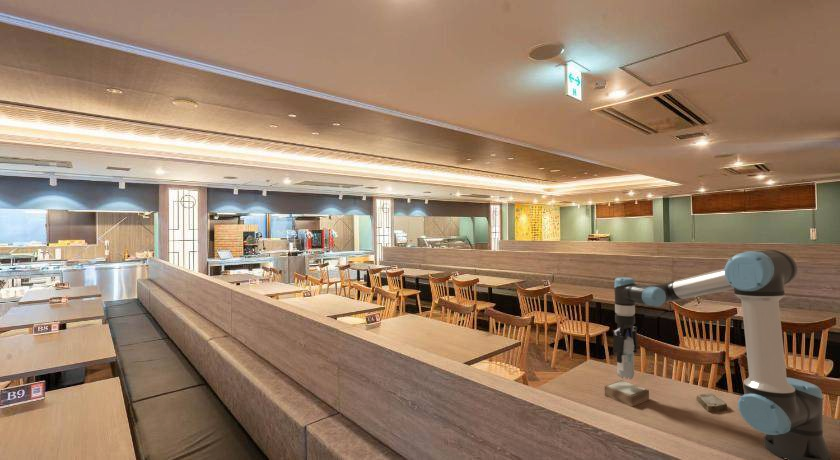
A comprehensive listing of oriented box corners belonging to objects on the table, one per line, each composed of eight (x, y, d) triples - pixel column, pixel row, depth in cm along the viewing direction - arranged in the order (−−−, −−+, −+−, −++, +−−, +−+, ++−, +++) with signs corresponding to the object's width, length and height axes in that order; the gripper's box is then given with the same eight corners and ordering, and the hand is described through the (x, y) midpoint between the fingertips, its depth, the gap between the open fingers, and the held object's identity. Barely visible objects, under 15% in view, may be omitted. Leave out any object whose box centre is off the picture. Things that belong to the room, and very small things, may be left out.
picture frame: (649, 399, 158) (648, 389, 158) (631, 406, 152) (631, 396, 152) (621, 389, 169) (621, 379, 169) (604, 395, 163) (604, 385, 163)
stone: (692, 396, 161) (692, 389, 161) (715, 398, 158) (715, 391, 158) (708, 413, 146) (707, 405, 146) (733, 416, 144) (733, 408, 144)
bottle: (613, 376, 162) (612, 329, 162) (623, 373, 165) (623, 327, 165) (627, 381, 156) (626, 333, 156) (638, 378, 159) (637, 331, 159)
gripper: (629, 309, 168) (630, 361, 168) (602, 315, 159) (603, 370, 159) (646, 312, 162) (647, 366, 162) (619, 319, 152) (620, 376, 153)
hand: (625, 368), depth 161 cm, fingers closed on bottle, 6 cm apart
